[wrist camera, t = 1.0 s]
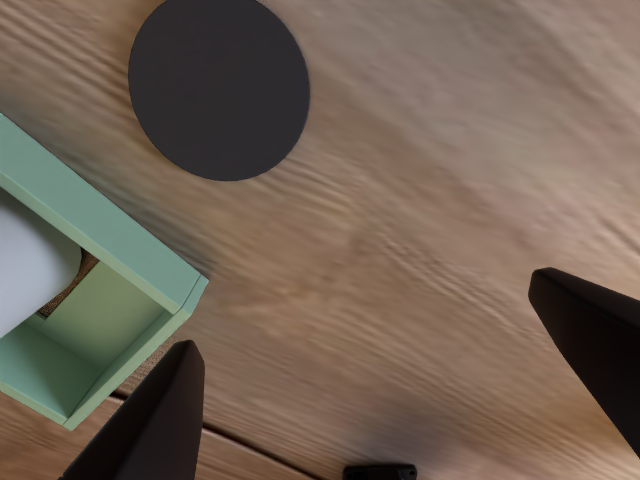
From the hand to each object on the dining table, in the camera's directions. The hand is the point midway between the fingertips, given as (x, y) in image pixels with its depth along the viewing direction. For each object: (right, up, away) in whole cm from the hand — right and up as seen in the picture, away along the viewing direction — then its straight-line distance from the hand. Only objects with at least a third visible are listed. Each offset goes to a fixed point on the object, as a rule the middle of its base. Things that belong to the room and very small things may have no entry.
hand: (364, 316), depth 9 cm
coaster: (-7, +10, +11) cm, 17 cm away
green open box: (-18, +1, +14) cm, 23 cm away
